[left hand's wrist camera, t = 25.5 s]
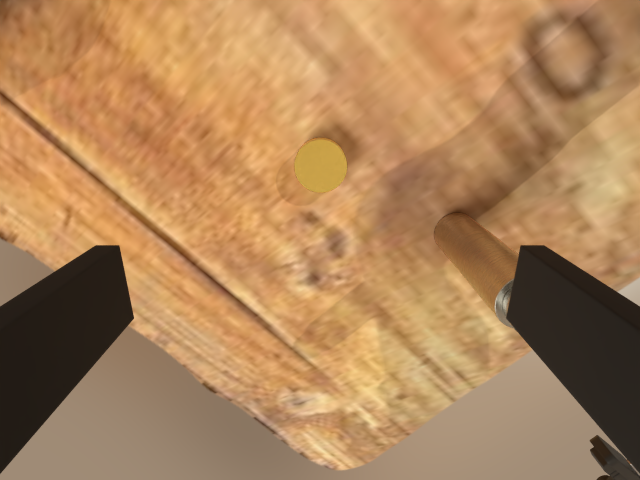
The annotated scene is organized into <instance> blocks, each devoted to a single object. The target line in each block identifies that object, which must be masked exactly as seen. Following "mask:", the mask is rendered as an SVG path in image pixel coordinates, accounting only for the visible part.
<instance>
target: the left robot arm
mask: <svg viewBox="0 0 640 480" xmlns="http://www.w3.org/2000/svg"><path fill="white" fill-rule="evenodd" d="M133 319H134V316H133V311H132V306H131V301H130V296H129V291H128V286H127V281H126V276H125V271H124V266H123V261H122V257H121V252H120V247H119V245H96V246H94V247H93V248H91V249H90V250H88V251H86V252H85V253H83V254H82V255H80V256H79V257H77V258H75V259H74V260H72V261H71V262H69V263H68V264H66V265H64V266H63V267H61V268H60V269H58V270H57V271H55V272H54V273H52V274H50V275H49V276H47V277H46V278H44V279H43V280H41V281H39V282H38V283H36V284H35V285H33V286H32V287H30V288H29V289H27V290H25V291H24V292H22V293H21V294H19V295H18V296H16V297H14V298H13V299H11V300H10V301H8V302H7V303H5V304H3V305H2V306H0V473H1V472H2V471H3V470H4V469H5V468H6V466H7V465H8V464H9V463H10V462H11V461H12V459H13V458H14V457H15V456H16V455H17V454H18V453H19V451H20V450H21V449H22V448H23V447H24V446H25V444H26V443H27V442H28V441H29V440H30V439H31V437H32V436H33V435H34V434H35V433H36V432H37V430H38V429H39V428H40V427H41V426H42V425H43V423H44V422H45V421H46V420H47V419H48V418H49V416H50V415H51V414H52V413H53V412H54V411H55V410H56V408H57V407H58V406H59V405H60V404H61V403H62V401H63V400H64V399H65V398H66V397H67V396H68V394H69V393H70V392H71V391H72V390H73V389H74V387H75V386H76V385H77V384H78V383H79V382H80V380H81V379H82V378H83V377H84V376H85V375H86V373H87V372H88V371H89V370H90V369H91V368H92V367H93V365H94V364H95V363H96V362H97V361H98V360H99V358H100V357H101V356H102V355H103V354H104V353H105V351H106V350H107V349H108V348H109V347H110V346H111V344H112V343H113V342H114V341H115V340H116V339H117V337H118V336H119V335H120V334H121V333H122V332H123V330H124V329H125V328H126V327H127V326H128V325H129V324H130V322H131V321H132V320H133ZM506 319H507V320H508V321H509V322H510V324H511V325H512V326H513V327H514V328H515V329H516V331H517V332H518V333H519V334H520V335H521V336H522V337H523V339H524V340H525V341H526V342H527V343H528V344H529V346H530V347H531V348H532V349H533V350H534V351H535V352H536V354H537V355H538V356H539V357H540V358H541V360H542V361H543V362H544V363H545V364H546V365H547V367H548V368H549V369H550V370H551V371H552V372H553V373H554V375H555V376H556V377H557V378H558V379H559V380H560V382H561V383H562V384H563V385H564V386H565V387H566V389H567V390H568V391H569V392H570V393H571V394H572V396H573V397H574V398H575V399H576V400H577V401H578V403H579V404H580V405H581V406H582V407H583V408H584V410H585V411H586V412H587V413H588V414H589V415H590V416H591V418H592V419H593V420H594V421H595V422H596V423H597V425H598V426H599V427H600V428H601V429H602V430H603V432H604V433H605V434H606V435H607V436H608V437H609V439H610V440H611V441H612V442H613V443H614V444H615V445H616V447H617V448H618V449H619V450H620V451H621V452H622V454H623V455H624V456H625V457H626V458H627V459H628V461H629V462H630V463H631V464H632V465H633V466H634V468H635V469H636V470H637V471H638V472H639V473H640V306H638V305H637V304H635V303H633V302H632V301H630V300H629V299H627V298H626V297H624V296H622V295H621V294H619V293H618V292H616V291H615V290H613V289H611V288H610V287H608V286H607V285H605V284H604V283H602V282H601V281H599V280H597V279H596V278H594V277H593V276H591V275H590V274H588V273H586V272H585V271H583V270H582V269H580V268H579V267H577V266H576V265H574V264H572V263H571V262H569V261H568V260H566V259H565V258H563V257H561V256H560V255H558V254H557V253H555V252H554V251H552V250H550V249H549V248H547V247H546V246H544V245H521V247H520V252H519V257H518V261H517V266H516V271H515V276H514V281H513V286H512V291H511V296H510V301H509V306H508V311H507V316H506Z"/></svg>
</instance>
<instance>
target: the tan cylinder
mask: <svg viewBox="0 0 640 480" xmlns="http://www.w3.org/2000/svg"><path fill="white" fill-rule="evenodd" d="M434 238H435V241H436V243H437V245H438V246H439V247H440V248H441V250H442V251H443V252H444V253H445V255H446V256H447V257H448V258H449V259H450V261H451V262H452V263H453V264H454V266H455V267H456V268H457V269H458V270H459V272H460V273H461V274H462V275H463V276H464V278H465V279H466V280H467V281H468V283H469V284H470V285H471V286H472V287H473V289H474V290H475V291H476V292H477V293H478V295H479V296H480V297H481V298H482V300H483V301H484V302H485V303H486V304H487V306H488V307H489V308H490V309H491V310H492V312H493V313H494V314H495V315H496V317H497V318H498V319H499V320H500V321H501V322H502V323H503V324H505V325H506V326H509V327H511V328H514V327H513V326H512V325H511V324H510V322H509V321H508V320H507V319H506V316H507V311H508V306H509V301H510V296H511V291H512V286H513V281H514V276H515V271H516V266H517V261H518V257H519V254H518V253H516V252H515V251H514V250H512V249H511V248H510V247H509V246H507V245H506V244H505V243H503V242H502V241H501V240H499V239H498V238H497V237H495V236H494V235H493V234H492V233H490V232H489V231H488V230H486V229H485V228H484V227H482V226H481V225H480V224H478V223H477V222H476V221H475V220H473V219H472V218H471V217H469V216H468V215H466V214H463V213H452V214H449V215H447V216H445V217H444V218H442V219H441V220H440V221H439V222H438V224H437V226H436V228H435V231H434ZM514 329H515V328H514ZM515 330H516V329H515Z"/></svg>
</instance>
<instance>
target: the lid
mask: <svg viewBox="0 0 640 480" xmlns="http://www.w3.org/2000/svg"><path fill="white" fill-rule="evenodd" d="M294 169H295V174H296V177H297V179H298V180H299V182H300V183H301V184H302V185H303V186H304V187H305V188H307V189H308V190H310V191H313V192H318V193H324V192H328V191H331V190H333V189H335V188H336V187H338V186H339V185H340V184H341V183H342V181H343V180H344V178H345V175H346V172H347V160H346V157H345V154H344V152H343V150H342V149H341V147H340V146H339V145H338V144H337V143H336V142H334V141H332V140H331V139H328V138H314V139H311V140H309V141H307V142H306V143H305V144H303V145H302V147H301V148H300V149H299V151H298V153H297V156H296V158H295V163H294Z"/></svg>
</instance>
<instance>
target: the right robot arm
mask: <svg viewBox="0 0 640 480" xmlns="http://www.w3.org/2000/svg"><path fill="white" fill-rule="evenodd" d="M590 442H591V443H592V444H593V446H594V447H593V448H592V449H590V451H591V454H592V455H593V457H594V458H595V459H596V461H597V462H598V463H599V465H600V466H601V467H602V468H603V470H604V471H605V472H606V473H607V474H609V475H610V476H608V475H603V476H600V477H599V478H598V479H597V480H640V473H639V472H638V471H637V470H636V469H635V468H634V466H633V465H632V464H631V463H630V462H629V461H628V460H626V459H625V458H624V457H623V456H622V455H621V454H620V453H619V452H618V451H616V450H615V449H614V448H612V447H611V446H610V445H609V444H608V443H607V442H605V441H604V440H603V439H602V438H600V437H599V436H598V435H597V436H595V437H594V438H592V439H591V440H590Z"/></svg>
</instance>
